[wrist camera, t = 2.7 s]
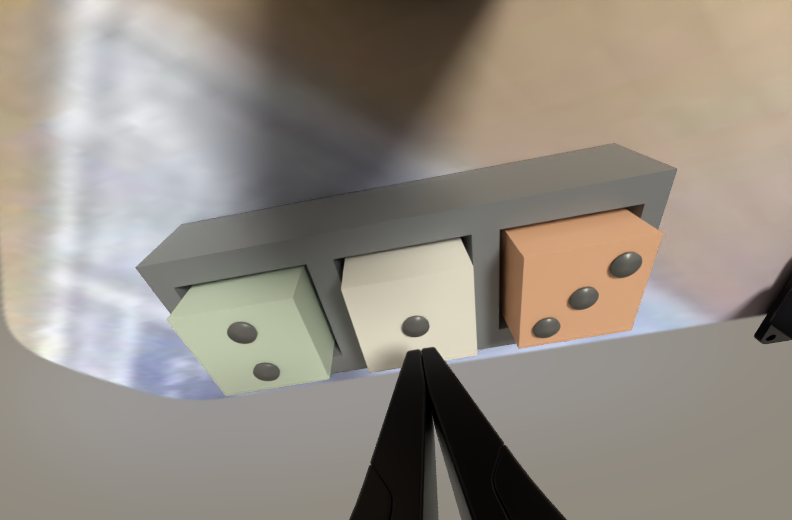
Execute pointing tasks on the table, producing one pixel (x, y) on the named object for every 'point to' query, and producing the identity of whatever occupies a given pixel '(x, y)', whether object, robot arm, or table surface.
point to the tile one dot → (412, 302)
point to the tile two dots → (257, 330)
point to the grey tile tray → (410, 230)
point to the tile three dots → (574, 275)
